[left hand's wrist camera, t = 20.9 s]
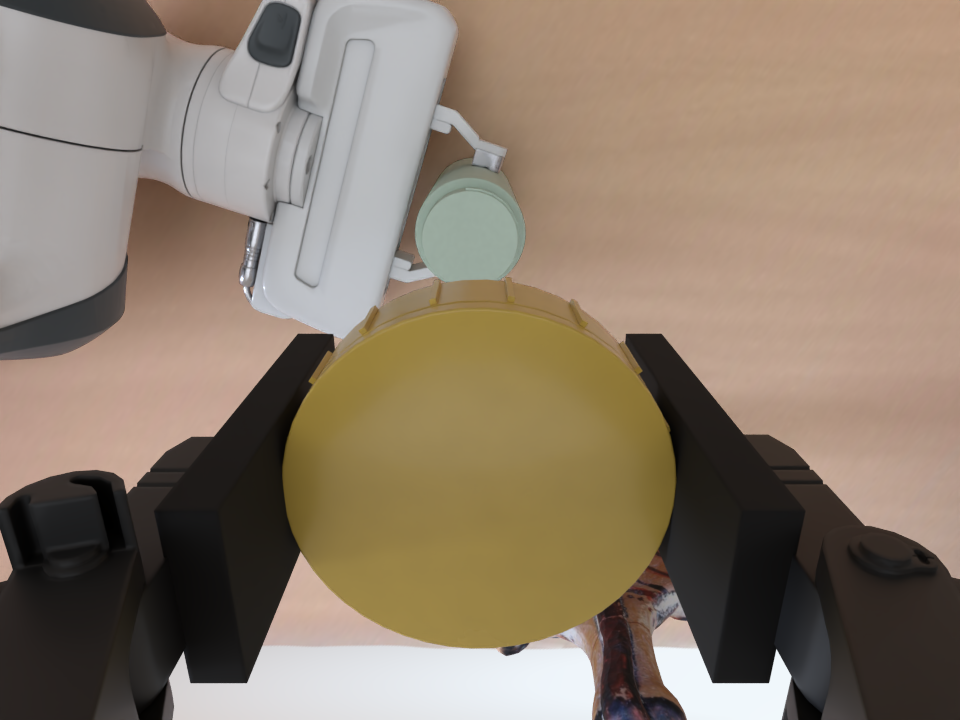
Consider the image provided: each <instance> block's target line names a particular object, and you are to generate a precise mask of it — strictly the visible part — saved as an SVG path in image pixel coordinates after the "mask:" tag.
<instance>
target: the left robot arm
mask: <svg viewBox="0 0 960 720" xmlns="http://www.w3.org/2000/svg"><path fill="white" fill-rule="evenodd" d="M625 344H626V345H627V347H628V349H629V350H630V352H631V353H632V355H633V357H634V358H635V360H636V361H637V363H638V365H639V366H640V368H641V369H642V372H641V373H639V375H640V376H641V378H642V380H643V381H644V383H645V385H646V386H647V388H648V390H649V391H650V393H651V395H652V396H653V398H654V400H655V402H656V404H657V405H658V407H659V409H660V411H661V412H662V414H663V417H664V418H665V420H666V422H667V423H668V425H669V427H670V432H669V433H670V436H671V440H672V445H673V450H674V455H675V462H676V490H675V499H674V506H673V510H672V514H671V518H670V522H669V526H668V528H667V531H666V533H665V535H664V538H663V540H662V543H661V545H660V547H659V549H658V550H659V552H660V555H661V557H662V560H663V562H664V565H665V567H666V570H667V572H668V575H669V577H670V580H671V582H672V584H673V587H674V589H675V592H676V594H677V597H678V599H679V602H680V604H681V607H682V609H683V611H684V614H685V616H686V619H687V621H688V624H689V626H690V629H691V631H692V634H693V636H694V639H695V641H696V643H697V646H698V648H699V651H700V653H701V656H702V658H703V661H704V663H705V666H706V668H707V671H708V673H709V675H710V678H711V680H712V683H769V681H770V676H771V671H772V667H773V662H774V657H775V652H776V649H777V650H778V652H779V654H780V656H781V658H782V660H783V661H784V663H785V665H786V667H787V669H788V670H789V672H790V674H791V676H792V677H791V682H790V686H789V691H788V695H787V700H786V704H785V708H784V712H783V717H782V720H960V579H956V578H952V577H951V575H950V573H949V571H948V570H947V568H946V567H945V566H944V565H943V563H942V562H941V561H940V560H939V559H938V557H937V556H936V555H935V554H933V553H932V552H930V551H929V550H927V549H926V548H925V547H923V546H922V545H920V544H919V543H917V542H915V541H913V540H911V539H908V538H906V537H904V536H902V535H899V534H897V533H895V532H891V531H887V530H883V529H879V528H876V527H872V526H864V525H863V523H862V522H861V521H860V520H859V519H858V518H857V517H856V516H855V515H854V514H853V513H852V512H851V511H850V509H849V508H848V507H847V506H846V505H845V504H844V503H843V502H842V501H841V500H840V499H839V498H838V497H837V495H836V494H835V493H834V492H833V491H832V490H831V489H830V488H829V487H828V486H827V485H826V484H823V480H822V479H821V478H820V477H819V476H818V475H817V474H816V473H815V472H814V471H813V470H810V466H809V465H808V464H807V463H806V462H805V461H804V460H803V459H802V458H801V457H800V456H799V455H798V453H797V452H796V451H795V450H794V449H792V448H790V447H789V446H787V445H785V444H783V443H782V442H780V441H778V440H777V439H775V438H773V437H771V436H770V435H744V434H743V433H742V432H741V431H740V430H739V428H738V427H737V426H736V425H735V423H734V422H733V421H732V420H731V418H730V417H729V416H728V415H727V414H726V412H725V411H724V410H723V409H722V407H721V406H720V405H719V404H718V403H717V401H716V400H715V399H714V398H713V396H712V395H711V394H710V393H709V391H708V390H707V389H706V388H705V387H704V385H703V384H702V383H701V382H700V380H699V379H698V378H697V377H696V376H695V374H694V373H693V372H692V371H691V369H690V368H689V367H688V366H687V365H686V363H685V362H684V361H683V360H682V358H681V357H680V356H679V355H678V353H677V352H676V351H675V350H674V349H673V347H672V346H671V345H670V344H669V342H668V341H667V340H666V339H665V338H664V336H663V335H662V334H626V341H625ZM334 350H335V346H334V335H333V334H298V335H297V336H296V337H295V338H294V339H293V341H292V342H291V343H290V344H289V346H288V347H287V348H286V349H285V350H284V352H283V353H282V354H281V355H280V357H279V358H278V359H277V360H276V362H275V363H274V364H273V365H272V366H271V368H270V369H269V370H268V371H267V373H266V374H265V375H264V376H263V377H262V379H261V380H260V381H259V382H258V384H257V385H256V386H255V387H254V388H253V390H252V391H251V392H250V393H249V395H248V396H247V397H246V398H245V400H244V401H243V402H242V403H241V404H240V406H239V407H238V408H237V409H236V411H235V412H234V413H233V414H232V415H231V417H230V418H229V419H228V420H227V422H226V423H225V424H224V425H223V426H222V428H221V429H220V430H219V431H218V433H217V434H216V435H215V436H214V437H191V438H189V439H187V440H185V441H184V442H182V443H180V444H179V445H177V446H175V447H173V448H172V449H170V450H168V451H166V452H165V453H164V455H163V456H162V457H161V458H160V459H159V460H158V461H157V462H156V463H155V464H154V465H153V467H152V468H151V469H150V470H151V471H150V472H147V473H146V474H145V475H144V476H143V477H142V478H141V480H140V481H139V482H138V483H137V487H133V488H132V489H131V490H130V492H129V493H128V494H126V489H125V485H124V481H123V479H122V478H120V477H119V476H117V475H116V474H114V473H111V472H105V471H99V470H90V471H74V472H70V473H65V474H61V475H56V476H52V477H48V478H46V479H43V480H40V481H38V482H35V483H33V484H30V485H27V486H25V487H24V488H22V489H20V490H18V491H17V492H15V493H13V494H11V495H10V496H8V497H7V498H5V499H4V500H3V501H2V502H1V503H0V530H1V533H2V537H3V540H4V543H5V546H6V549H7V552H8V555H9V559H10V562H11V565H12V568H13V571H12V573H11V575H10V577H9V578H8V580H7V581H4V582H0V720H172V718H173V710H174V703H173V696H172V691H171V686H170V682H169V677H170V675H171V673H172V671H173V669H174V668H175V666H176V664H177V662H178V660H179V658H180V657H181V655H182V653H183V651H184V655H185V659H186V664H187V669H188V673H189V678H190V683H247V682H248V679H249V677H250V674H251V672H252V669H253V667H254V664H255V662H256V660H257V657H258V655H259V652H260V650H261V647H262V645H263V642H264V640H265V637H266V635H267V633H268V630H269V628H270V625H271V623H272V620H273V618H274V615H275V613H276V610H277V608H278V606H279V603H280V601H281V598H282V596H283V593H284V591H285V588H286V586H287V583H288V581H289V578H290V576H291V574H292V571H293V569H294V566H295V564H296V561H297V559H298V556H299V554H300V551H301V550H300V548H299V546H298V544H297V542H296V540H295V538H294V535H293V533H292V530H291V527H290V524H289V521H288V517H287V512H286V504H285V497H284V489H283V480H282V464H283V457H284V451H285V444H286V441H287V437H288V435H289V431H290V428H291V425H292V422H293V420H294V418H295V416H296V414H297V412H298V410H299V408H300V406H301V404H302V402H303V400H304V398H305V396H306V395H307V393H308V392H309V390H310V388H311V387H312V385H313V384H311V383H310V382H309V380H310V378H311V377H312V375H313V373H314V372H315V370H316V369H317V367H318V366H319V364H320V362H321V361H322V359H323V358H324V356H325V354H326V353H327V351H330V352H331V353H333V352H334Z"/></svg>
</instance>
